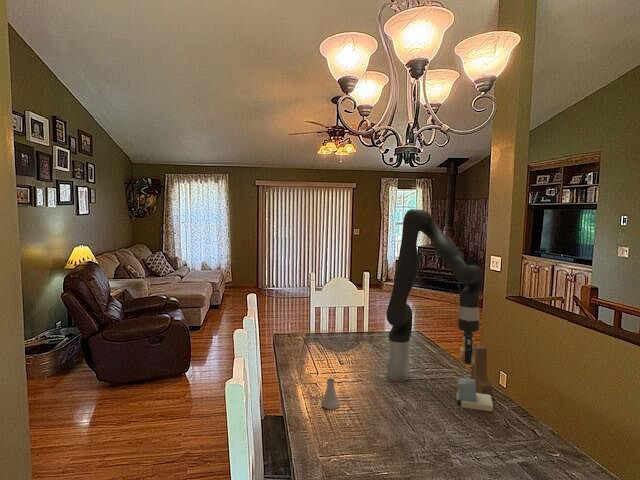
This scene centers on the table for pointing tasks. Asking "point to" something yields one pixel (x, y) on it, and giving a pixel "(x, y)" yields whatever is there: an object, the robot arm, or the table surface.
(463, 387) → the cube
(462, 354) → the oak block
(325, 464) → the table surface
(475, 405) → the foundation board
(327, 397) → the flask
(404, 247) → the robot arm
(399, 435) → the table surface
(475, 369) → the wooden block
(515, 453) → the table surface
